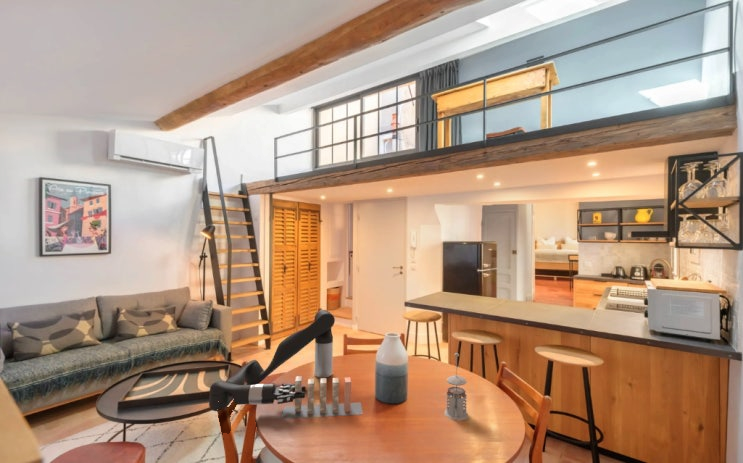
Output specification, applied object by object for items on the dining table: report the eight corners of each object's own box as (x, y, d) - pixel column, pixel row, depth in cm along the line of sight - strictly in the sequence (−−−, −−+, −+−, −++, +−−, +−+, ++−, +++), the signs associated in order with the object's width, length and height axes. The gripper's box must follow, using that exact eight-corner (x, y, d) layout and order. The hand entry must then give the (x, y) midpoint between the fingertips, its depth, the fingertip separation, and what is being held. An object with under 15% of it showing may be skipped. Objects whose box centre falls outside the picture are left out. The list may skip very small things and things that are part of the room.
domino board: (284, 408, 144) (284, 406, 144) (360, 404, 148) (360, 402, 148) (281, 421, 134) (281, 418, 134) (363, 416, 138) (363, 414, 138)
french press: (468, 410, 144) (469, 350, 145) (468, 424, 133) (469, 359, 134) (444, 406, 147) (445, 348, 147) (443, 420, 136) (443, 357, 136)
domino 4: (332, 412, 139) (332, 382, 139) (332, 406, 144) (332, 378, 144) (338, 412, 139) (338, 382, 140) (337, 406, 144) (338, 377, 144)
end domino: (344, 411, 140) (345, 382, 140) (344, 406, 144) (344, 377, 145) (350, 411, 140) (351, 381, 140) (349, 405, 145) (350, 377, 145)
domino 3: (319, 413, 138) (320, 383, 139) (320, 407, 143) (320, 378, 143) (325, 413, 139) (326, 383, 139) (325, 407, 143) (326, 378, 144)
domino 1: (294, 411, 137) (295, 381, 137) (295, 405, 142) (296, 376, 142) (300, 411, 137) (301, 380, 138) (301, 405, 142) (302, 376, 142)
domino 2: (307, 414, 138) (307, 383, 138) (307, 408, 142) (308, 379, 143) (313, 413, 138) (313, 383, 138) (313, 407, 143) (314, 378, 143)
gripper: (265, 395, 145) (306, 393, 147) (258, 412, 131) (304, 409, 133) (265, 377, 145) (306, 375, 147) (258, 392, 131) (304, 390, 133)
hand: (305, 391), depth 140 cm, fingers closed on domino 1, 4 cm apart
